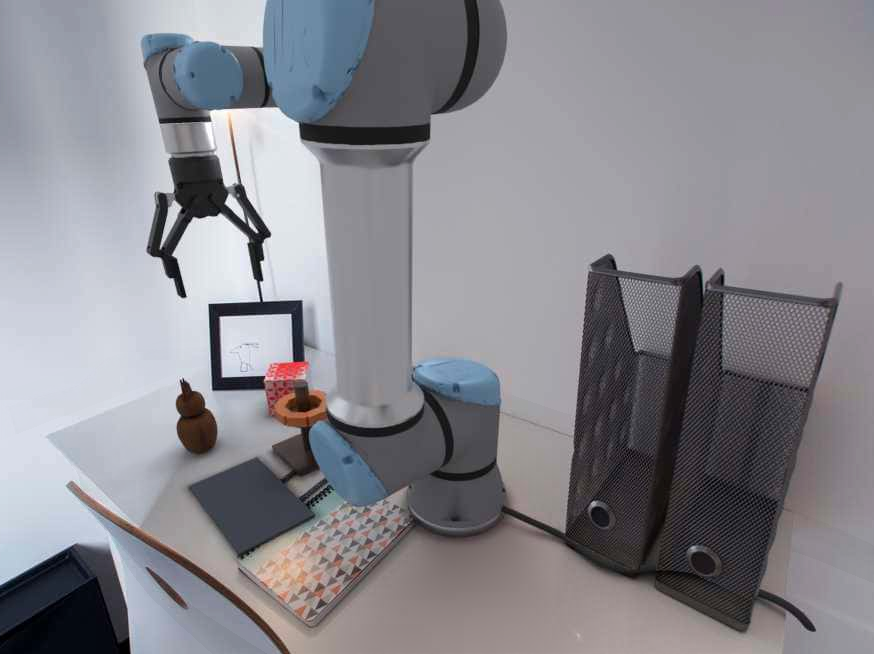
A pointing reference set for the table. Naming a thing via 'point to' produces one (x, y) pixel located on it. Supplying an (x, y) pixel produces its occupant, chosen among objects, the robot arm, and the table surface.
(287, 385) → the red patterned cube
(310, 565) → the table surface
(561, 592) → the table surface
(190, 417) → the wooden figurine
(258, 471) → the mat
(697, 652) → the table surface
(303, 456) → the ring stand
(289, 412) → the ring
